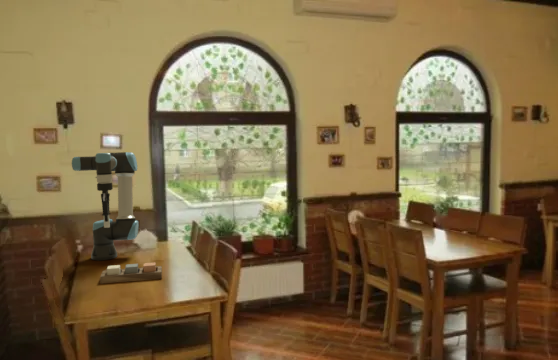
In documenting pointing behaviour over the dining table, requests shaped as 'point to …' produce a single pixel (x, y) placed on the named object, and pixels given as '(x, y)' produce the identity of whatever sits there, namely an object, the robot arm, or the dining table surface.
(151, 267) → the terracotta key
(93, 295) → the dining table surface
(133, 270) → the slate key
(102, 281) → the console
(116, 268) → the ivory key
